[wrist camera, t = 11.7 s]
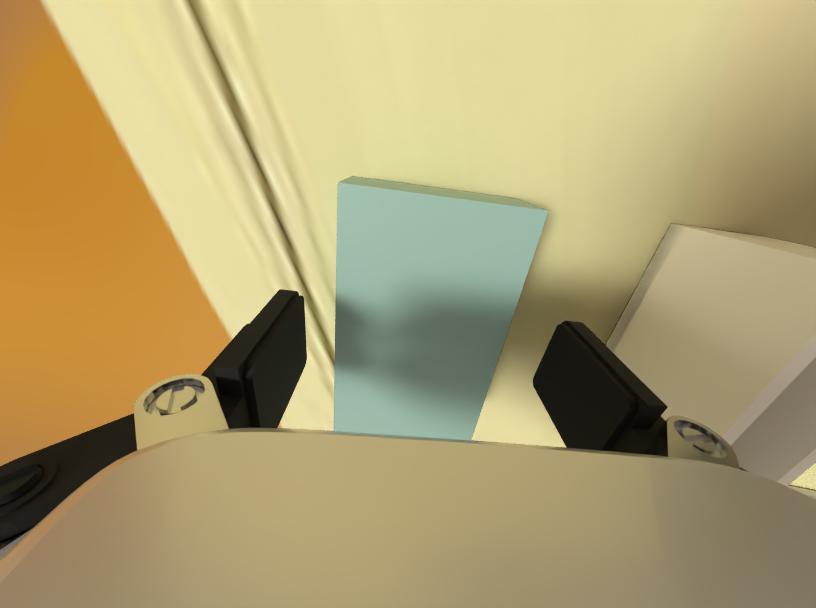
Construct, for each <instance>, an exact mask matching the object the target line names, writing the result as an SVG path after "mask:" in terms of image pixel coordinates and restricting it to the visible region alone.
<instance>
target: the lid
mask: <svg viewBox="0 0 816 608" xmlns="http://www.w3.org/2000/svg"><path fill="white" fill-rule="evenodd" d="M548 212H549V211H548V210H545V209H543V208H540V207H537V206H534V205H532V204H529V203H526V202H523V201H521V200H518V199H515V198H509V197H502V196H495V195H487V194H480V193H473V192H465V191H458V190H451V189H444V188H436V187H429V186H422V185H414V184H407V183H400V182H393V181H385V180H378V179H371V178H363V177H356V176H351V177H349V178H347V179H344V180H342V181H340V182H338V194H337V257H336V319H335V381H334V431H343V432H358V433H372V434H387V435H401V436H416V437H430V438H444V439H458V440H471V439H472V436H473V433H474V430H475V427H476V424H477V421H478V418H479V415H480V412H481V409H482V406H483V404H484V401H485V398H486V395H487V392H488V389H489V386H490V383H491V380H492V377H493V374H494V371H495V368H496V365H497V362H498V359H499V356H500V354H501V351H502V348H503V345H504V342H505V339H506V336H507V333H508V330H509V327H510V324H511V321H512V318H513V315H514V312H515V309H516V306H517V303H518V301H519V298H520V295H521V292H522V289H523V286H524V283H525V280H526V277H527V274H528V271H529V268H530V265H531V262H532V259H533V256H534V253H535V250H536V248H537V245H538V242H539V239H540V236H541V233H542V230H543V227H544V224H545V221H546V218H547V215H548Z"/></svg>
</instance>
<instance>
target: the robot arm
mask: <svg viewBox="0 0 816 608" xmlns="http://www.w3.org/2000/svg"><path fill="white" fill-rule="evenodd" d="M306 359H307V353H306V331H305V310H304V297H303V296H299V294H298V292H297V291H290V290H279V291H278V292H277V293H276V294H275V295H274V296H273V298H272V299H271V300H270V301H269V302H268V303H267V305H266V306H265V307H264V308H263V309H262V310H261V311H260V313H259V314H258V315H257V316H256V317H255V318H254V320H253V321H252V322H251V323H250V324H247V325H245V326H244V327H243V328H242V329H241V331H240V332H239V333H238V334H237V335H236V336H235V337H234V339H233V340H232V341H231V342H230V343H229V344H228V345H227V346H226V348H225V349H224V350H223V351H222V352H221V353H220V354H219V355H218V357H217V358H216V359H215V360H214V361H213V362H212V364H211V365H210V366H209V367H208V368H207V369H206V370H205V371H204V373H203V374H202V375H197V374H184V375H178V376H174V377H170V378H168V379H165V380H163V381H160V382H158V383H156V384H155V385H153V386H151V387H150V388H148V389H147V390H146V391H145V392H143V393H142V394H141V395H140V397H139V398H138V399H137V401H136V402H135V407H134V413H133V414H131V415H128V416H126V417H123V418H121V419H118V420H115V421H113V422H110V423H108V424H105V425H103V426H100V427H97V428H95V429H92V430H90V431H87V432H85V433H82V434H79V435H77V436H74V437H72V438H69V439H67V440H64V441H61V442H59V443H56V444H54V445H51V446H49V447H46V448H44V449H41V450H38V451H36V452H34V453H31V454H28V455H26V456H23V457H20V458H18V459H15V460H13V461H11V462H9V463H7V464H4V465H2V466H0V608H816V500H815V499H813V498H811V497H809V496H807V495H805V494H803V493H801V492H799V491H797V490H794V489H792V488H790V487H788V486H785V485H783V484H781V483H778V482H776V481H773V480H770V479H768V478H765V477H762V476H760V475H757V474H754V473H751V472H748V471H746V470H744V469H743V468H741V467H740V466H739V463H738V459H737V456H736V454H735V452H734V450H733V448H732V447H731V446H730V445H729V444H728V443H727V442H726V441H725V440H724V439H723V438H722V437H721V436H719V435H718V434H717V433H716V432H714V431H713V430H711V429H710V428H708V427H706V426H705V425H703V424H701V423H699V422H697V421H694V420H692V419H689V418H687V417H682V416H671V417H669V418H668V419H667V420H666V421H665V420H664V419H663V418H662V417H661V415H662V414H663V412H664V411H665V410H666V409H667V407H668V406H667V405H666V404H665V403H664V402H662V401H661V400H660V399H659V398H658V397H657V396H656V395H655V394H654V393H653V392H652V391H651V390H650V389H649V388H648V387H647V386H646V385H645V384H644V383H643V382H642V381H641V380H640V379H639V378H638V377H637V376H636V375H635V374H634V373H633V372H632V371H631V370H630V369H629V368H628V367H627V366H626V365H625V364H624V363H623V362H622V361H621V360H620V359H619V358H618V357H617V356H616V355H615V354H614V353H613V352H612V351H611V350H610V349H609V348H608V347H607V346H606V345H605V344H604V343H603V342H602V341H601V340H600V339H599V338H597V337H596V336H595V335H594V334H593V333H592V332H591V331H590V330H589V329H588V328H587V327H586V326H585V325H584V324H583V323H581V322H573V321H564V322H563V323H562V324H559V325H558V326H557V327H556V329H555V331H554V334H553V336H552V338H551V340H550V342H549V345H548V347H547V349H546V351H545V353H544V356H543V358H542V360H541V362H540V365H539V367H538V369H537V371H536V373H535V376H534V378H533V386H534V388H535V390H536V392H537V394H538V395H539V397H540V399H541V401H542V403H543V405H544V407H545V408H546V410H547V412H548V414H549V416H550V418H551V419H552V421H553V423H554V425H555V427H556V429H557V430H558V432H559V434H560V436H561V438H562V440H563V442H564V443H565V445H566V447H567V448H562V447H550V446H538V445H525V444H511V443H498V442H485V441H471V440H458V439H444V438H430V437H416V436H401V435H387V434H372V433H358V432H343V431H325V430H308V429H286V428H277V427H278V425H279V423H280V421H281V418H282V416H283V414H284V412H285V410H286V407H287V405H288V403H289V401H290V398H291V396H292V394H293V392H294V389H295V387H296V385H297V383H298V381H299V378H300V376H301V374H302V372H303V369H304V367H305V364H306Z"/></svg>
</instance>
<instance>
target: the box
mask: <svg viewBox="0 0 816 608" xmlns="http://www.w3.org/2000/svg"><path fill="white" fill-rule="evenodd" d="M606 346H607V347H608V348H609V349H610V350H611V351H612V352H613V353H614V354H615V355H616V356H617V357H618V358H619V359H620V360H621V361H622V362H623V363H624V364H625V365H626V366H627V367H628V368H629V369H630V370H631V371H632V372H633V373H634V374H635V375H636V376H637V377H638V378H639V379H640V380H641V381H642V382H643V383H644V384H645V385H646V386H647V387H648V388H649V389H650V390H651V391H652V392H653V393H654V394H655V395H656V396H657V397H658V398H659V399H660V400H661V401H662V402H664V403H665V404H666V405H667V406H668V407H667V409H666V410H665V411H664V412H663V414H662V415H661V417H662V418H663V419H664V420H665V421H666V420H667V419H668V418H669V417H671V416H682V417H687V418H689V419H692V420H694V421H697V422H699V423H701V424H703V425H705V426H706V427H708V428H710V429H711V430H713V431H714V432H716V433H717V434H718V435H719V436H721V437H722V438H723V439H724V440H725V441H726V442H727V443H728V444H729V445H730V446H731V447H732V448H733V450H734V452H735V454H736V456H737V459H738V463H739V466H740V467H741V468H743V469H744V470H746V471H748V472H751V473H754V474H757V475H760V476H762V477H765V478H768V479H770V480H773V481H776V482H778V483H781V484H783V485H785V486H788V485H789V484H790V483H791V482H793V481H794V480H795V479H796V478H798V477H799V476H800V475H801V474H802V473H804V472H805V471H806V470H807V469H808V468H810V467H811V466H812V465H813V464H815V463H816V248H815V247H811V246H806V245H802V244H797V243H792V242H788V241H783V240H779V239H774V238H769V237H765V236H758V235H751V234H743V233H736V232H729V231H722V230H715V229H708V228H700V227H693V226H686V225H679V224H672V223H671V225H670V226H669V228H668V230H667V232H666V234H665V236H664V238H663V239H662V241H661V243H660V245H659V247H658V249H657V251H656V252H655V254H654V256H653V258H652V260H651V262H650V264H649V265H648V267H647V269H646V271H645V273H644V275H643V277H642V278H641V280H640V282H639V284H638V286H637V288H636V290H635V291H634V293H633V295H632V297H631V299H630V301H629V303H628V305H627V306H626V308H625V310H624V312H623V314H622V316H621V318H620V319H619V321H618V323H617V325H616V327H615V329H614V331H613V332H612V334H611V336H610V338H609V340H608V342H607V344H606Z"/></svg>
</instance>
